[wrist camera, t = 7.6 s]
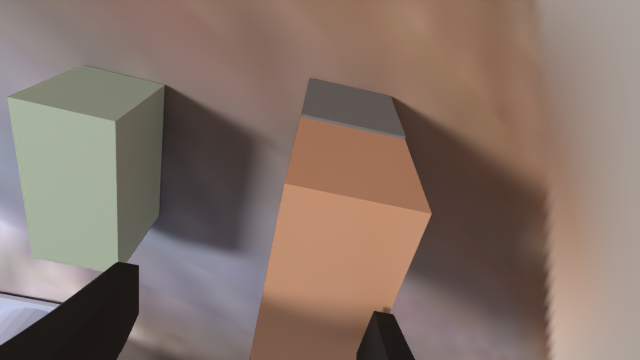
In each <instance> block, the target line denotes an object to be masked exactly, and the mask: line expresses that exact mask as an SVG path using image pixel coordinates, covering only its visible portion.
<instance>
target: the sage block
mask: <svg viewBox="0 0 640 360" xmlns="http://www.w3.org/2000/svg"><path fill="white" fill-rule="evenodd" d="M164 92H165V85H163V84H159V83H155V82H151V81H146V80H142V79H138V78H134V77H129V76H125V75H121V74H117V73H113V72H108V71H104V70H100V69H96V68H91V67H87V66H83V65H81V66H79V67H77V68H74V69H72V70H69V71H67V72H65V73H62V74H60V75H58V76H55V77H53V78H51V79H48V80H46V81H43V82H41V83H39V84H36V85H34V86H32V87H29V88H27V89H25V90H22V91H20V92H17V93H15V94H13V95H10V96H8V97H7V99H8V105H9V111H10V118H11V124H12V130H13V137H14V143H15V150H16V156H17V162H18V169H19V175H20V181H21V188H22V194H23V201H24V207H25V213H26V220H27V226H28V233H29V239H30V245H31V252H32V257H33V258H38V259H43V260H48V261H53V262H58V263H63V264H68V265H73V266H78V267H83V268H88V269H93V270H98V271H103V272H104V271H106V270H107V269H108V268H109V267H111V266H112V265H113V264H115V263H116V262H123V263H127V261H128V260H129V258H130V257H131V255H132V254H133V252H134V251H135V250H136V248H137V247H138V245H139V244H140V242H141V241H142V240H143V238H144V237H145V235H146V234H147V232H148V231H149V229H150V228H151V227H152V225H153V224H154V222H155V221H156V219H157V218H158V216H159V207H160V184H161V161H162V138H163V115H164Z"/></svg>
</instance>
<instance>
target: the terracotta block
mask: <svg viewBox="0 0 640 360" xmlns="http://www.w3.org/2000/svg"><path fill="white" fill-rule="evenodd" d="M431 215H432V213H431V210H430V208H429V205H428V202H427V199H426V197H425V194H424V191H423V188H422V185H421V183H420V180H419V177H418V174H417V172H416V169H415V166H414V163H413V161H412V158H411V155H410V152H409V150H408V147H407V144H406V141H405V139H401V138H397V137H392V136H387V135H383V134H378V133H374V132H369V131H365V130H360V129H355V128H351V127H346V126H342V125H337V124H333V123H328V122H323V121H319V120H314V119H310V118H305V117H300V121H299V125H298V129H297V133H296V138H295V142H294V146H293V150H292V154H291V158H290V163H289V167H288V171H287V175H286V179H285V183H284V188H283V193H282V199H281V204H280V209H279V214H278V219H277V224H276V229H275V234H274V239H273V244H272V249H271V254H270V259H269V264H268V269H267V274H266V279H265V284H264V289H263V294H262V299H261V304H260V309H259V314H258V319H257V324H256V329H255V334H254V339H253V345H252V350H251V355H250V360H356V353H357V351H358V348H359V346H360V343H361V341H362V338H363V336H364V333H365V331H366V329H367V326H368V324H369V321H370V319H371V316H372V314H373V311H378V312H384V313H390V310H391V308H392V306H393V303H394V301H395V299H396V296H397V294H398V292H399V289H400V287H401V285H402V282H403V280H404V278H405V275H406V273H407V271H408V268H409V266H410V264H411V261H412V259H413V257H414V254H415V252H416V250H417V247H418V245H419V243H420V240H421V238H422V236H423V233H424V231H425V229H426V226H427V224H428V222H429V219H430V217H431Z"/></svg>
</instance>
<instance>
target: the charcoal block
mask: <svg viewBox="0 0 640 360" xmlns="http://www.w3.org/2000/svg"><path fill="white" fill-rule="evenodd" d="M301 117H305V118H310V119H314V120H319V121H323V122H328V123H333V124H337V125H342V126H346V127H351V128H355V129H360V130H365V131H369V132H374V133H378V134H383V135H387V136H392V137H397V138H401V139H405V138H406V136H405V133H404V130H403V128H402V125H401V122H400V120H399V117H398V114H397V112H396V109H395V106H394V104H393V101H392V98H391V96H387V95H383V94H378V93H374V92H370V91H365V90H361V89H356V88H352V87H348V86H343V85H339V84H334V83H330V82H326V81H321V80H317V79H313V78H310V80H309V84H308V88H307V92H306V96H305V101H304V105H303V109H302V113H301Z"/></svg>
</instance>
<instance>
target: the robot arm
mask: <svg viewBox="0 0 640 360" xmlns="http://www.w3.org/2000/svg"><path fill="white" fill-rule="evenodd" d="M138 314H139V265H133V264H128V263H123V262H116V263H115V264H113V265H112V266H111V267H109V268H108V269H107V270H106V271H104V272H103V273H102V274H100V275H99V276H98V277H97V278H95V279H94V280H93V281H91V282H90V283H89V284H88V285H86V286H85V287H84V288H82V289H81V290H80V291H78V292H77V293H76V294H74V295H73V296H72V297H70V298H69V299H68V300H66V301H65V302H63V303H62V304H55V303H50V302H44V301H39V300H33V299H28V298H22V297H17V296H11V295H6V294H0V360H116V359H117V357H118V356H119V354H120V352H121V351H122V349H123V347H124V345H125V343H126V341H127V339H128V337H129V334H130V332H131V330H132V328H133V325H134V323H135V321H136V319H137V316H138ZM356 360H415V359H414V357H413V354H412V352H411V350H410V348H409V346H408V344H407V342H406V340H405V338H404V336H403V334H402V332H401V329H400V327H399V325H398V323H397V321H396V319H395V317H394V315H393V314H389V313H384V312H378V311H373V314H372V316H371V319H370V321H369V324H368V326H367V329H366V331H365V333H364V336H363V338H362V341H361V343H360V346H359V348H358V351H357V353H356Z"/></svg>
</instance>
